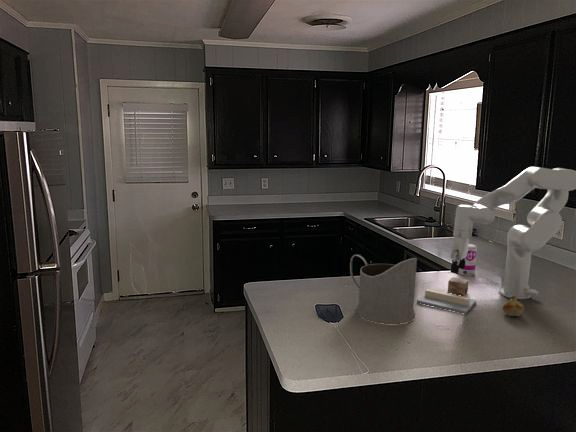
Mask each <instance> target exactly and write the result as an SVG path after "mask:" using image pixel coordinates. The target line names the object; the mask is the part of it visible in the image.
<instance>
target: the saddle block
mask: <svg viewBox="0 0 576 432" xmlns="http://www.w3.org/2000/svg"><path fill="white" fill-rule="evenodd" d="M469 282H470V280H469V279H465V278H460V277H455V276H452V277H451V278H450V279H448V283H447V291H446V292H447V294H448V293H452V295H453V294H456V296H457V295H461V297H462V296H464V297H465V294H466V293H467V292H468V289H469ZM467 294H468V293H467Z"/></svg>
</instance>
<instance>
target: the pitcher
mask: <svg viewBox="0 0 576 432" xmlns="http://www.w3.org/2000/svg"><path fill="white" fill-rule="evenodd" d="M355 257H358V258H360V260H362V261H363V262H364V264H365V265H364V266H362V267H361V268H360V271H359V284H358V282H357V281H356V278H355V277H354V274H353V260H354V258H355ZM417 261H418V259H417V258H416V257H412V258H408V259H405V260H402V261H400V262H398V263H397V264H391V263H371V264H368V262H367V260H366V259H365V258H364V257H363V256H362V255H361V254H353V255H352V256H351V258H350V263H349V273H350V277H351V279H352V282H353V283H354V285H355V286H356V287H357V289H358V290H359V291H358V304H357V306H356V308H355V311H356V312H357V314H358V315H359V316H360V317H362V318H364V319H366V320H369V321H373V322H377V323H384V324H400V323H406V322H409V321H412V320H413V319H414V318H415V319H416V317H415V315H416V313H415V309H414V302H415V301H414V299H415V292H416V291H415V288H416V277H417V276H416V275H417V263H418V262H417ZM356 312H355V313H356ZM357 314H356V315H357ZM358 315H357V316H358ZM359 316H358V317H359ZM360 317H359V318H360ZM366 320H365V321H366Z"/></svg>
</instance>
